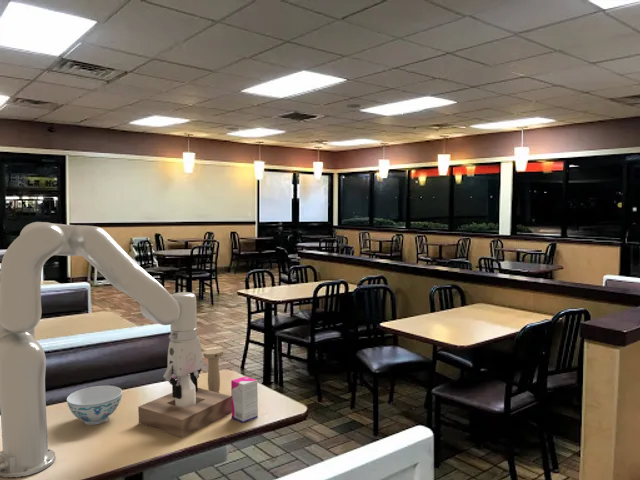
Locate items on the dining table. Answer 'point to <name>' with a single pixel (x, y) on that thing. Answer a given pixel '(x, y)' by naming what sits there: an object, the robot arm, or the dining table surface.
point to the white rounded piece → (186, 393)
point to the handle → (213, 369)
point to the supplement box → (244, 399)
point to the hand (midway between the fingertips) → (185, 393)
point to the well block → (184, 413)
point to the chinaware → (94, 403)
